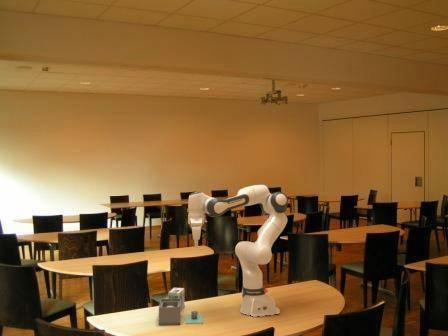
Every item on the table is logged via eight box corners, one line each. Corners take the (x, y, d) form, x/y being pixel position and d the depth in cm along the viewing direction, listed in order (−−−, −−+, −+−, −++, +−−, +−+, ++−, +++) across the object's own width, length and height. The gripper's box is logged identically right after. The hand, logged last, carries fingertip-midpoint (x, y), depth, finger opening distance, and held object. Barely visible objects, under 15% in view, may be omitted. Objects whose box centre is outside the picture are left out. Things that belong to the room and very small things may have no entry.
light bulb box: (179, 312, 256) (179, 293, 256) (167, 311, 257) (168, 292, 257) (184, 306, 266) (184, 287, 266) (173, 305, 268) (173, 287, 268)
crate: (180, 315, 250) (180, 298, 250) (180, 324, 236) (180, 307, 235) (160, 315, 250) (160, 298, 250) (158, 325, 235) (158, 307, 235)
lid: (202, 316, 250) (202, 307, 250) (203, 324, 237) (203, 315, 237) (186, 316, 250) (186, 308, 250) (185, 325, 237) (185, 316, 237)
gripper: (190, 218, 265) (190, 242, 265) (190, 223, 245) (190, 248, 245) (201, 218, 266) (200, 241, 266) (202, 223, 245) (202, 248, 246)
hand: (196, 245), depth 255 cm, fingers open, 8 cm apart
